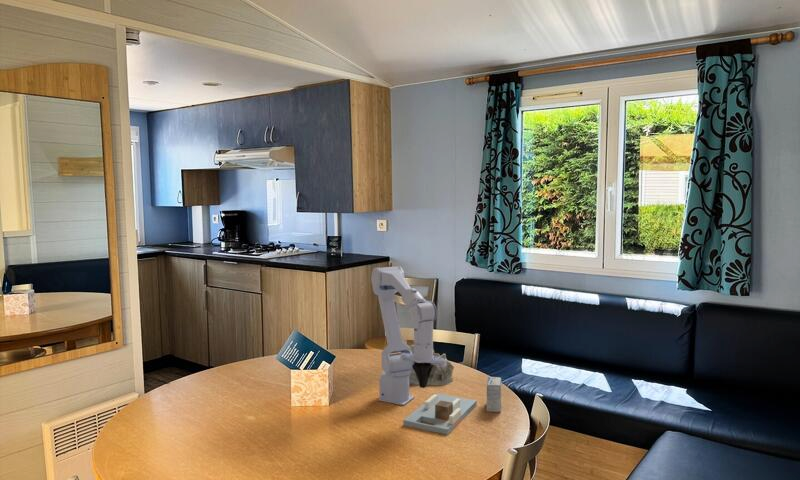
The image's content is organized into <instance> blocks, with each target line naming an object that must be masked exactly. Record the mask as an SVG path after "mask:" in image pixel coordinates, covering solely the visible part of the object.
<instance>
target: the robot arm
mask: <svg viewBox="0 0 800 480" xmlns="http://www.w3.org/2000/svg"><path fill="white" fill-rule="evenodd" d="M371 271H372V272H371V276H370V280H371V286H372V291H373V294H374V295H376V296H377V298H378V303H379V307H380V313H381V318H382V324H383V327H384V334H385V339H386V343H387V345H386V346H385V348H383V349H382V351H381V354H380V355H381V368H382V373H381V374H380V378H379V398H378V401H380V402H385V403H389V404H395V405H400V406H405V405H406V404H408V403H409V402H410V401H412V400H413V399H414V398H415V396H414V395H412V394H411V395H410V384H409V374H410V373H411V370H413V369H414V371H415V373H416V375H417V377H418V381H419V385H418V386H419V388H422V389H425V388H426V387H428V385H427V382H428V378H429V375H430V372H431V370H432V368H433V366H434V365H437V366H441V367H446V366H447V361H448V359H447V358H446V359H443V358H439V357H436V356H433V350H434V321H436V319H437V315H438V313H437V312H438V311H437V306H436V304H435V303H434V301H431V300H426V299H425V297H424V296H423V295H422V294H421V293H420V292H419V290H418V289H417V288H413V287H411V286H410V285H409V283H408V282H407V280H406V278H405V270H404V269H403V268H402V267H401V266H400V265H397V266H396V265H395V266H386V267H385V266H384V267H374V268H373V269H372V270H371ZM396 293H399V294H400V295H401V302H402V304H403V305H405V306H406V308H407V309H408V310H409V315H410V319H411V325H412V328H413V345H414V353H412V351H411V345H408V344H406V343H405V342H404V341H403V337H402V333H401V328H400V323H399V318H398V314H397V308H396V304H395V298H394V296H395V294H396Z"/></svg>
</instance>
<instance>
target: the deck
mask: <svg viewBox="0 0 800 480" xmlns="http://www.w3.org/2000/svg"><path fill="white" fill-rule="evenodd" d="M440 400H441V401H447V402H452V403H453V413H452V414H451V415H450V416H449V420H448V421H447V420H442V419H437V418H435V405H436V404H437V403H438V402H439V401H440ZM477 401H478V400H476V399H471V398H464V397H460V396H459V397H458V396H453V395H447V394H442V393H438V392H436V393H435V394H433V395H432V396H431V397H429V398H428V399H426V400H425V401H424V403H423V404H421V406H419V407H418V408H417V409H416V410H414V411H413V412H412V413H410V414H409V415H408V416H406V417H405V418H404V419H403V426H404V427H409V428H414V429H419V430H423V431H426V432H427V431H428V432H433V433H438V434H442V435H446V436H447V435H449V434H450V433H452V431H453V430H454V429H455V428H456V427H457V426H458V425H459V424H460V423H461V422H462V421H463V420H464V419H465V418H466V417H467V416H468V414H470V413H471V412H472V411H473V409H475V407H476V406H478V405H477ZM422 422H423V423H422ZM432 424H433V425H432Z"/></svg>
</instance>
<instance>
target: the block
mask: <svg viewBox="0 0 800 480" xmlns="http://www.w3.org/2000/svg"><path fill="white" fill-rule="evenodd" d="M452 413H453V403H452V402H447V401H441V400H440V401H439V402H438V403H437V404H436V405H435V418H437V419H442V420H447V421H448V420H449V416H450V415H451V414H452Z"/></svg>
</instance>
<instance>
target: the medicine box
mask: <svg viewBox="0 0 800 480" xmlns="http://www.w3.org/2000/svg"><path fill="white" fill-rule="evenodd" d="M502 380H503V379H502V377H499V376H498V377H497V376H488V377H487V381H486V382H487V383H486V412H490V413H491V412H492V413H501V412H502V385H503V384H502V382H503V381H502Z"/></svg>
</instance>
